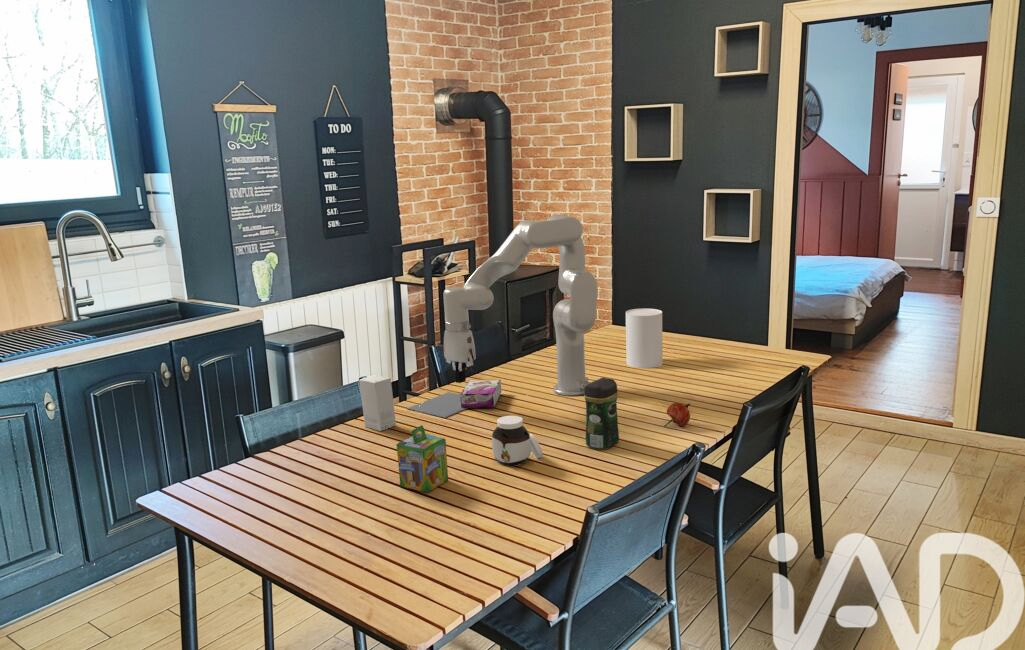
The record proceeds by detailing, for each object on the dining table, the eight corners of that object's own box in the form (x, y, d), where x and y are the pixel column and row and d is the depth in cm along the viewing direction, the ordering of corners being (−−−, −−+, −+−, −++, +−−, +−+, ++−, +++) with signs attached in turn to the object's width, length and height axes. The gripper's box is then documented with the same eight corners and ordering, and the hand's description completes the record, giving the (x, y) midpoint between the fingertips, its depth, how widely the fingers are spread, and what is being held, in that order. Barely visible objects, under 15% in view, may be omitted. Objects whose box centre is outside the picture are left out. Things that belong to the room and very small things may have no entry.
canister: (626, 358, 301) (625, 308, 297) (661, 358, 299) (661, 308, 295) (626, 368, 288) (625, 316, 284) (663, 368, 286) (663, 315, 282)
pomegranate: (673, 438, 223) (700, 417, 222) (657, 419, 223) (684, 397, 222) (669, 432, 231) (696, 411, 230) (654, 413, 230) (680, 392, 229)
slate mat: (485, 401, 258) (485, 399, 258) (444, 418, 243) (444, 417, 243) (448, 393, 268) (448, 392, 268) (406, 409, 253) (406, 408, 253)
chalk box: (427, 494, 189) (423, 437, 186) (398, 487, 194) (393, 431, 191) (450, 480, 197) (446, 425, 193) (421, 473, 201) (417, 419, 198)
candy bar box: (459, 393, 250) (468, 379, 266) (460, 408, 251) (469, 393, 267) (493, 393, 248) (501, 378, 264) (494, 407, 249) (501, 392, 265)
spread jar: (488, 461, 207) (486, 420, 205) (517, 448, 215) (515, 408, 213) (521, 472, 199) (519, 429, 197) (549, 458, 207) (548, 417, 205)
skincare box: (396, 426, 238) (392, 377, 234) (379, 432, 233) (375, 383, 230) (379, 420, 243) (375, 373, 240) (362, 426, 239) (358, 378, 235)
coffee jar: (598, 436, 222) (597, 374, 218) (623, 441, 217) (622, 377, 213) (580, 447, 214) (578, 383, 210) (605, 452, 209) (604, 387, 205)
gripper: (482, 326, 244) (485, 382, 248) (447, 321, 253) (451, 375, 257) (467, 331, 238) (470, 388, 242) (432, 326, 247) (435, 381, 251)
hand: (460, 381), depth 249 cm, fingers closed
